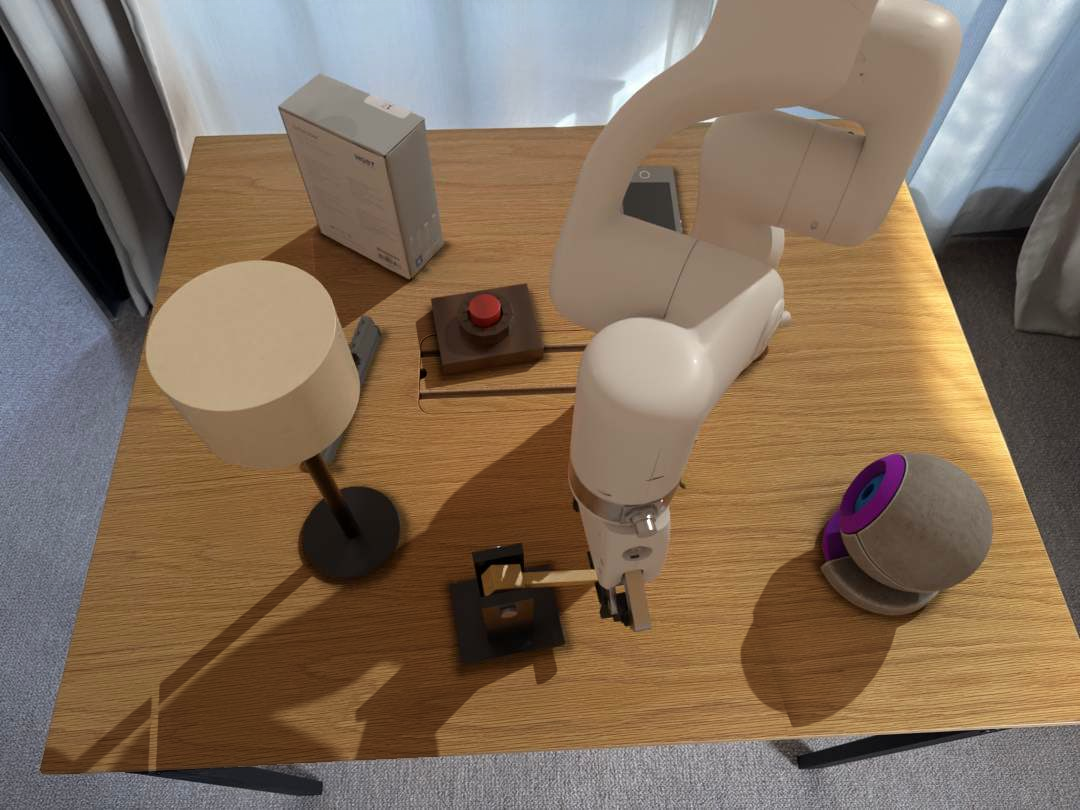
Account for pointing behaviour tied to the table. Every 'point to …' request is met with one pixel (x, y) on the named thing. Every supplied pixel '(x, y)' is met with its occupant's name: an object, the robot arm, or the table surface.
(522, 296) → the button block
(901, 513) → the webcam
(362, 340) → the grey long bar
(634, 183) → the smartphone
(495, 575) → the tan handled piece
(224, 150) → the table surface
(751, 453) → the table surface
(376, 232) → the hard drive box
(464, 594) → the switch bracket
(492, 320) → the red push button
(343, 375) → the desk lamp
